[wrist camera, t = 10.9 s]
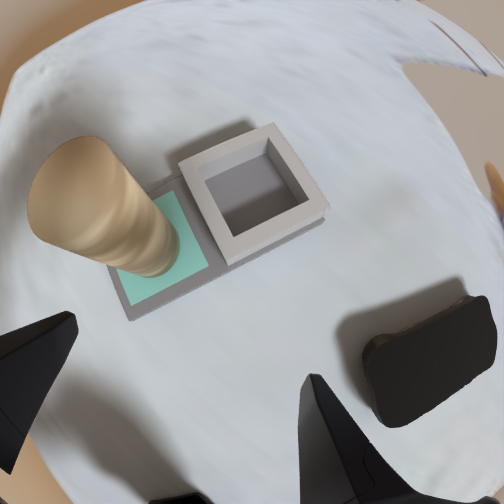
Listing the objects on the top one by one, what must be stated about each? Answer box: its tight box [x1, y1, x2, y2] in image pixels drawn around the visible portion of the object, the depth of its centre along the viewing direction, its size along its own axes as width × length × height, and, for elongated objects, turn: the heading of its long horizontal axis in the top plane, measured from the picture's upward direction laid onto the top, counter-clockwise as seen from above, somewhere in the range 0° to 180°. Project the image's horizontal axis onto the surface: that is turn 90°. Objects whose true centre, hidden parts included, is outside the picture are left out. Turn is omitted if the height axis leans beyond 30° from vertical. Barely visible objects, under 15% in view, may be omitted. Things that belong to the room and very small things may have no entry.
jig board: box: [107, 122, 331, 321], centre depth 21 cm, size 18×9×4 cm, turn 118°
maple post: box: [27, 136, 180, 278], centre depth 15 cm, size 5×5×12 cm
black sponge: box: [362, 296, 497, 428], centre depth 19 cm, size 16×8×4 cm, turn 103°
